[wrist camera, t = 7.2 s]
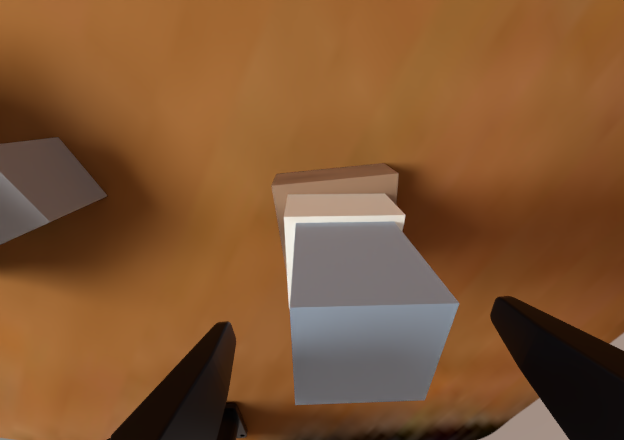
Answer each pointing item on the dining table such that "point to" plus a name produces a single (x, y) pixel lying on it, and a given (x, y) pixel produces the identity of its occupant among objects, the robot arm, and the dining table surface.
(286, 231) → the tower top
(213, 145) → the dining table surface
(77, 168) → the cube
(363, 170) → the tower base
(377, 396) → the gray block
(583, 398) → the robot arm
